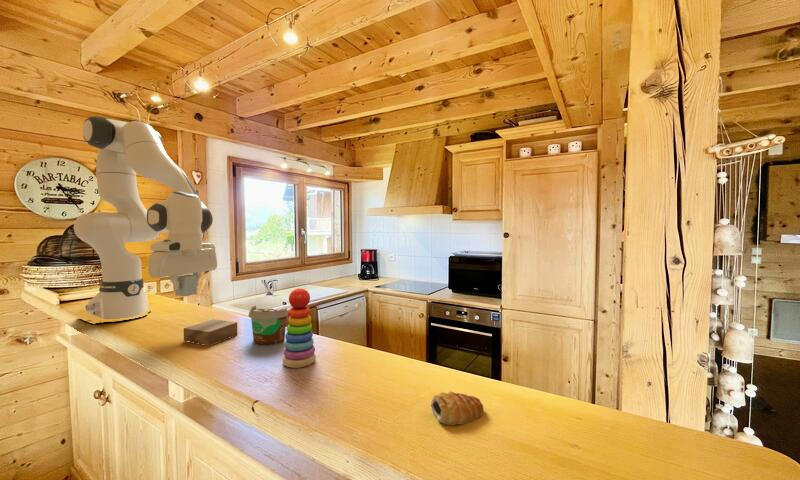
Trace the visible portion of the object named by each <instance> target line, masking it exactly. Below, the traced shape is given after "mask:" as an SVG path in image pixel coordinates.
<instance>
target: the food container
mask: <svg viewBox="0 0 800 480" xmlns="http://www.w3.org/2000/svg"><path fill="white" fill-rule="evenodd" d="M287 317H289V310H288V308H287V307H286V308H284V309H279V310H278V309H274V308H263V309H262V308H257V305H254V306H252V307H250V309H249V312H248V318H250V319H251V328H252V338H253V344H255V345H256V346H260V347H261V346H262V347H264V346H266V347H267V346H276V345H279V344H282V343H285V341H286V338H285V336H286V329H287Z"/></svg>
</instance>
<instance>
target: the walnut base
mask: <svg viewBox="0 0 800 480" xmlns="http://www.w3.org/2000/svg"><path fill="white" fill-rule="evenodd" d="M235 335H236V336H238V322H237V321H236V322H235V321H231V320H220V319H214V318H213V319H209V320H206V321H202V322H200V323H197V324H194V325H190V326H187V327H184V328H183V342H184V341H190V342H194V343H193V344H195V343H199V344H198V345H201V344H204V345H203V346H207V345H209V347H210V346H212V344H213V345H215V344H214V343H216V344H217V342H218V343H220V342H219V341H221V342H223V341H225V340H224V339H226V340H228V339H230V338H229V337H231V338H233V337H232V336H234V337H236V336H235ZM227 338H228V339H227ZM222 340H223V341H222Z"/></svg>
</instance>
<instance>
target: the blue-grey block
mask: <svg viewBox="0 0 800 480" xmlns="http://www.w3.org/2000/svg"><path fill="white" fill-rule="evenodd" d="M177 280H178V282H179V283H182V289H179V290H174V293H175V296H176V297H177V296H178V297H190V296H194V295H197V294H198V292H197V291H198V286H197V275H193V274H182V275H179V278H178V279H177Z"/></svg>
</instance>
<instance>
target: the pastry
mask: <svg viewBox="0 0 800 480" xmlns="http://www.w3.org/2000/svg"><path fill="white" fill-rule="evenodd" d="M430 407H431V409H432V414H433V415H434V416H435V417H436V419H437V420H438V421H439V423H442V424H444V425H447V426H456V425H464V424H467V423H470V422H472V421H476V420H477V419H479V418H481V416H482V415H483V414H484V411H485V410H484V405H483V403H482V402H481V399H480V398H477V397H476V396H474V395H468V394H466V393H465V394H464V393H459V392H457V393H456V392H453V391H449V392H440V393H439V394H435V395H434V396H433V398H432V399H431V402H430Z"/></svg>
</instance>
